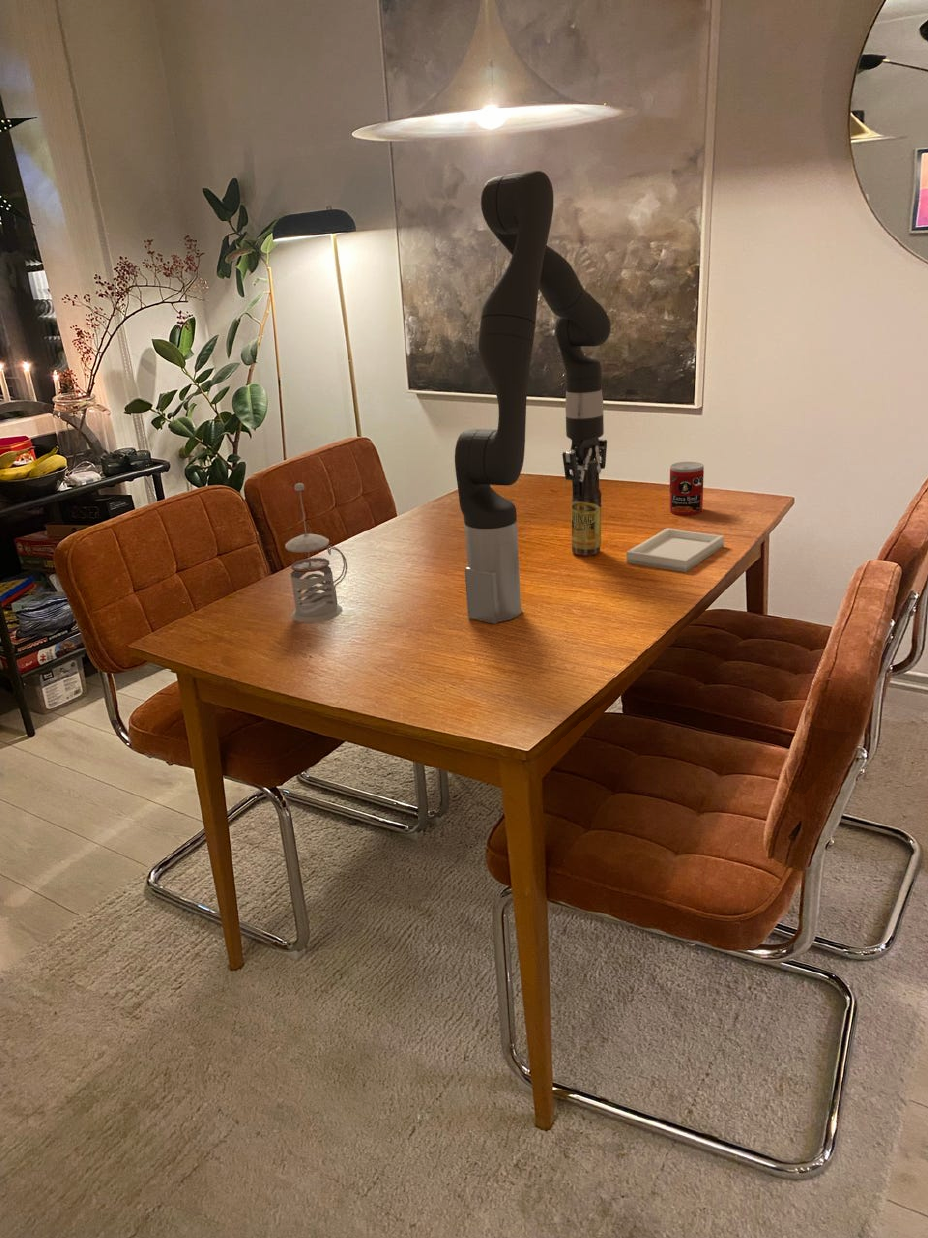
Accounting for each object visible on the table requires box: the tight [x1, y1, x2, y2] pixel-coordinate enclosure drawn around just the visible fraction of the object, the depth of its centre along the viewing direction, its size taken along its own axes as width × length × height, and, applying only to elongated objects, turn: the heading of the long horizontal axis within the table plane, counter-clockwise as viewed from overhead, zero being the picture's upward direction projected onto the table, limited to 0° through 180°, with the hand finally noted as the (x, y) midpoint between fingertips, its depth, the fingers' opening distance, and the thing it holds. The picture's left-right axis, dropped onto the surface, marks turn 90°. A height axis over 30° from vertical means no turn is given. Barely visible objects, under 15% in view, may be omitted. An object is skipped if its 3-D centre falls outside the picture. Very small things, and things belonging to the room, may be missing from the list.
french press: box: [285, 482, 348, 624], centre depth 171 cm, size 10×12×25 cm
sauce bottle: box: [570, 459, 603, 557], centre depth 193 cm, size 6×6×20 cm
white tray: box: [626, 527, 725, 573], centre depth 192 cm, size 18×13×2 cm
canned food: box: [668, 461, 705, 516], centre depth 219 cm, size 8×8×11 cm
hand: (586, 494), depth 192 cm, fingers closed on sauce bottle, 5 cm apart
